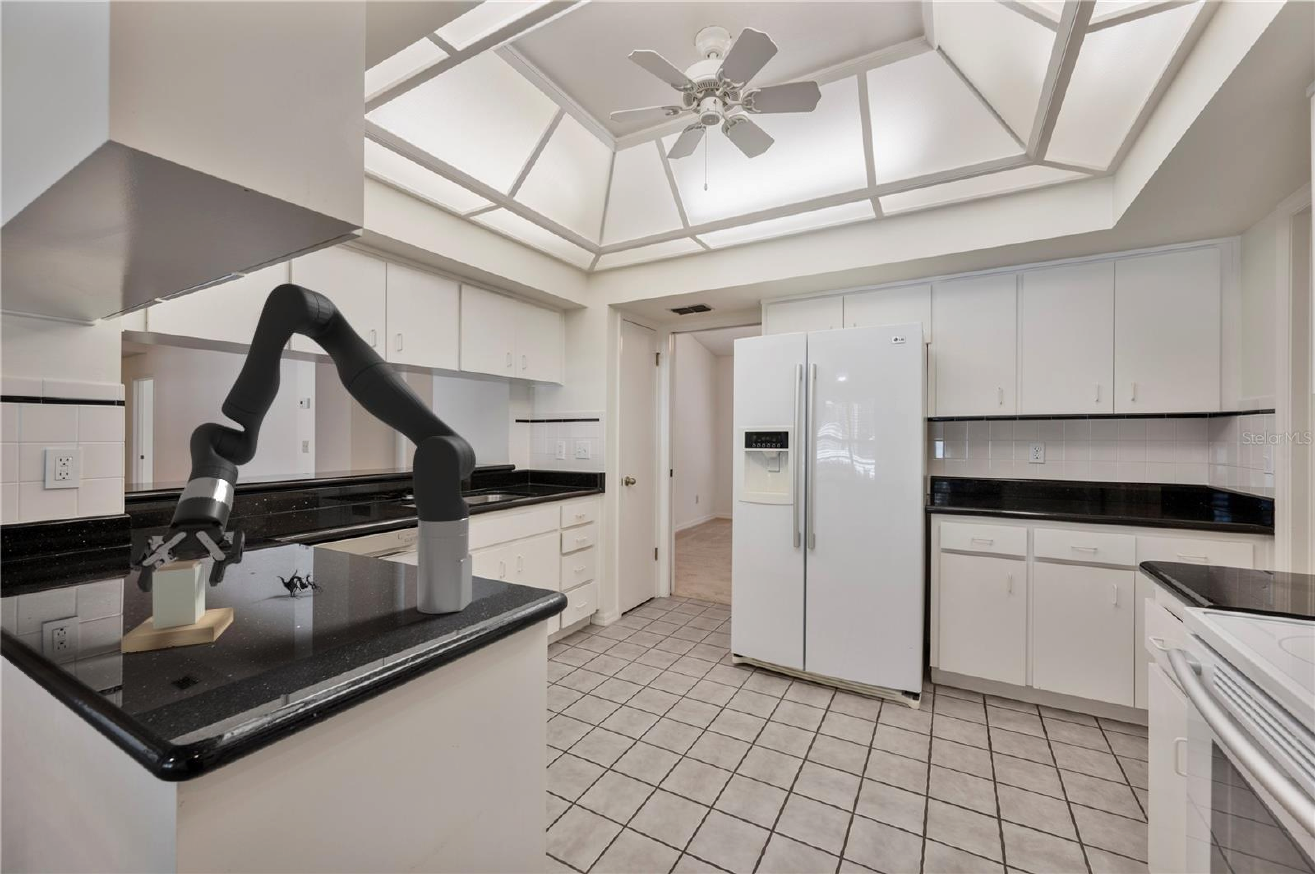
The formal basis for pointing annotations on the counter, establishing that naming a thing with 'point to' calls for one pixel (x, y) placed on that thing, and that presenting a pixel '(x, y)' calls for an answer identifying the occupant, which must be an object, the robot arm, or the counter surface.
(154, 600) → the pale green upright block
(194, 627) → the base slab
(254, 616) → the counter surface
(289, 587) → the creature
